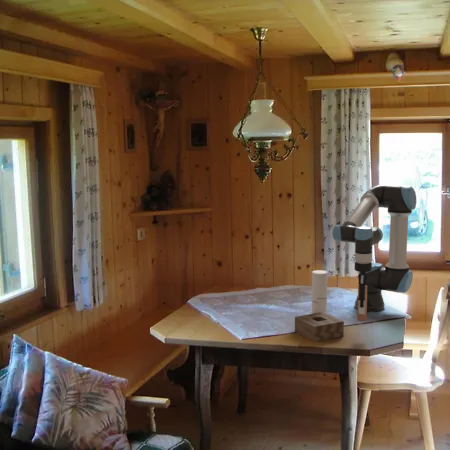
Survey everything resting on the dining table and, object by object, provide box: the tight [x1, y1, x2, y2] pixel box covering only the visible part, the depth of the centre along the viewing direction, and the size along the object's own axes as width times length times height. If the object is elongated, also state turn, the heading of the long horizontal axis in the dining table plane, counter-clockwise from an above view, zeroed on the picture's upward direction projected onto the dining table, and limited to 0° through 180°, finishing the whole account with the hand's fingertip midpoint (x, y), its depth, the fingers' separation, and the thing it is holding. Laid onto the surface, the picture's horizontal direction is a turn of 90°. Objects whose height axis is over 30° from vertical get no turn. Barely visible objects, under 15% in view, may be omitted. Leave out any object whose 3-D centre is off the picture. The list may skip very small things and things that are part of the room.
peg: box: [357, 284, 368, 322], centre depth 285 cm, size 4×4×16 cm
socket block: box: [294, 312, 345, 342], centre depth 292 cm, size 16×16×7 cm
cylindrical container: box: [311, 269, 328, 314], centre depth 308 cm, size 7×7×25 cm
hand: (362, 312), depth 286 cm, fingers closed on peg, 4 cm apart
